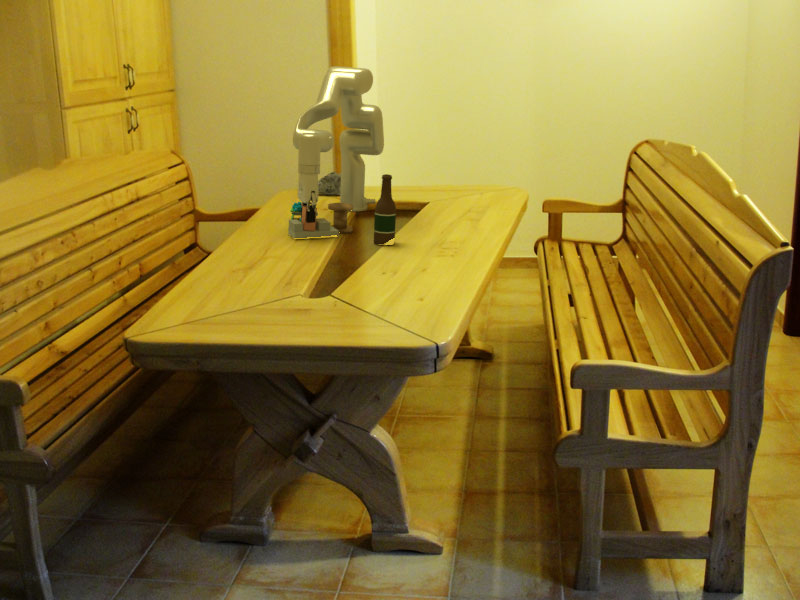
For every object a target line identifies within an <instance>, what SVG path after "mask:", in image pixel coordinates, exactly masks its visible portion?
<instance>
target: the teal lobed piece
mask: <svg viewBox="0 0 800 600" xmlns="http://www.w3.org/2000/svg"><path fill="white" fill-rule="evenodd" d="M301 202H302V201H298V202H294V203H293V204H292V206H291V207H290V211H289V212H291V217H290V220H291V219H292V220H294V218H295V216H300V217H299V219H298V220H299V221H301V219H302V218H301V208H302V207H301ZM318 214H319V212H317V213H316V217H317V216H318Z"/></svg>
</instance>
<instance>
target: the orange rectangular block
mask: <svg viewBox="0 0 800 600" xmlns="http://www.w3.org/2000/svg"><path fill="white" fill-rule="evenodd" d="M309 207H310V206H309ZM306 211H307V206H305V205H303V207H302V219H301V223H302V224H303V230H312V231H315V225H316V219H317V216H315V222H314V223H307V222H306ZM317 211H318V207H316V213H318V212H317Z"/></svg>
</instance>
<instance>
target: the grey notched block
mask: <svg viewBox="0 0 800 600" xmlns="http://www.w3.org/2000/svg"><path fill="white" fill-rule="evenodd" d="M299 220H300V219H297V218H296V219H294V218H293V219H292V220H291V219H288V228H287V231H288V232H287V233H288V234H289V235H290V236H292V237H293V238H307V237H321V236H331V235H337V236H338V238H339V235H340V234H339V231H338V230H337V229H335V228H334V227H333V226H330V225H331V221H329V220H327V219H326V218H324V217H321V218H320V217H319V218H317V217H316V225H315V231H312V230H303V224H302V223H301V222H300V221H299ZM288 234H287V235H288ZM289 235H288V236H289ZM290 236H289V237H290ZM292 237H291V238H292ZM293 238H292V239H293Z"/></svg>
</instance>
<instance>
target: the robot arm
mask: <svg viewBox="0 0 800 600" xmlns="http://www.w3.org/2000/svg"><path fill="white" fill-rule="evenodd" d="M373 83H374V76H373V73H372V71H371V70H370V69H369V68H364V67H352V66H351V67H350V66H339V65H338V66H335V65H334V66H331V67H329V68H328V69H327V70H326V73H325V75H324V77H323V79H322V82H321V86H320V88H319V89H320V90H319V92H318V95H317V99H316V102H315V103H314V104H313V105H312V106H311V107H309V108H307V109H306V110H305V111H304V112H303V113H302V114H301V115H299V118H298V119H297V121H296V125H295V127H294V130H293V131H294V132H293V134H292V145H293V147H294V148H295V149H296V150H298V154H297V155H298V156H297V157H298V160H297V161H298V162H297V167H298V169H297V173H298V181H297V199H298V200H299V201H300V202H301V207H303V205H305V206H307V211H306V222H307V223H314V222H315V216H316V208H317V205H318V204H317V203H318V201H319V193H318V181H319V175H320V174H321V153H328V152H330V151H331V149H333V147H334V144H335V138H334V135H333V133H331V132H330V131H328V130H321V129H314V128H313V129H311V128H310V127H311V126H312V125H313V124H316V123H318V122H321V121H324V120H326V119H330V118H333V117H334V116H337V114H338V113H339V111H340V119H341V122H342V125H343V126H344V127H345V128H347V129H344V130H343V131H341V133H340V135H339V146H340V147H339V149H340V158H341V159H340V160H341V161H340V164H341V165H340V174H341V193H340V195H339V197H340V198H339V199H340V202H339V203H348V204H352V205H353V210H352V211H351V212H363V211H367V210H369V209H368V207H369V204H370V205H374V204H375V205H376V204H377V201H376V198H367V197H365V183H366V182H365V181H366V177H365V176H366V164H365V161H364V159H363V158H362V156H361V155H364V156H366V155H367V156H380V155H381V154H382V153H383V151H384V146H385V136H384V119H383V111H382V110H381V107H379V106H378V105H374V104H365V103H363V98H362V96H363V95H364V94H367V93H368V92H369V91H370V90H371V89H372V87H373ZM309 128H310V129H309ZM309 206H310V207H309ZM316 217H317V216H316ZM300 218H302V208H301V216H300Z"/></svg>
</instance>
